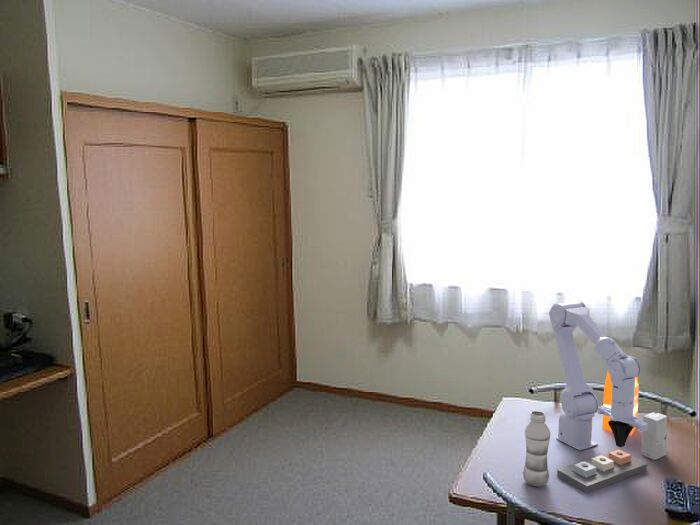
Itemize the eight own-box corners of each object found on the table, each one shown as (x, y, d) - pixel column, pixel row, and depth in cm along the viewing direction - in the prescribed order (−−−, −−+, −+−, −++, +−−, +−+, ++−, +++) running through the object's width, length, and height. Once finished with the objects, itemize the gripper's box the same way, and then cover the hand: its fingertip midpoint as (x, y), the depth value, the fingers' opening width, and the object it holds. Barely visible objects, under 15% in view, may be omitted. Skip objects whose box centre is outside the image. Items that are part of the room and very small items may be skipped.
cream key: (591, 465, 162) (591, 458, 162) (601, 461, 164) (601, 454, 163) (603, 471, 158) (603, 464, 158) (613, 467, 160) (613, 460, 160)
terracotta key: (608, 459, 165) (608, 452, 165) (618, 455, 167) (618, 448, 167) (620, 465, 162) (621, 458, 161) (630, 461, 163) (630, 454, 163)
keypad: (557, 476, 160) (557, 469, 160) (615, 455, 171) (616, 449, 171) (586, 493, 151) (586, 486, 151) (646, 470, 162) (647, 463, 162)
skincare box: (655, 460, 168) (657, 421, 166) (640, 454, 171) (642, 416, 170) (666, 454, 171) (669, 415, 169) (651, 449, 175) (653, 411, 173)
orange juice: (608, 420, 195) (611, 363, 192) (636, 427, 190) (640, 368, 187) (601, 428, 189) (604, 370, 186) (631, 436, 184) (634, 375, 181)
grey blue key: (573, 471, 159) (574, 464, 158) (583, 467, 160) (584, 460, 160) (585, 478, 155) (585, 470, 155) (595, 474, 157) (596, 466, 157)
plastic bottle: (528, 474, 161) (530, 406, 158) (552, 482, 157) (554, 412, 154) (518, 484, 156) (520, 414, 153) (543, 492, 152) (545, 420, 149)
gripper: (591, 394, 166) (589, 439, 168) (636, 411, 153) (633, 460, 155) (607, 389, 169) (606, 433, 171) (653, 406, 156) (651, 453, 158)
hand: (620, 445), depth 163 cm, fingers closed
